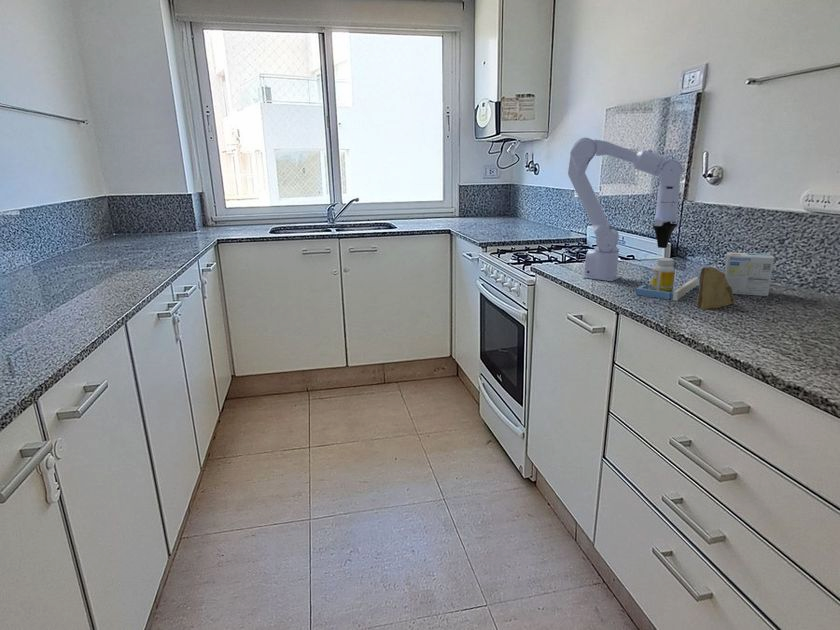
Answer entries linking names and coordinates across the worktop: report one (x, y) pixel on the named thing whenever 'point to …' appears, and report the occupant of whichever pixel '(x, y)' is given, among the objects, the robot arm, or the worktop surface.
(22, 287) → the worktop surface
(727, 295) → the rock
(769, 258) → the light bulb box
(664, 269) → the supplement bottle
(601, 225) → the robot arm
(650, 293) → the channel
